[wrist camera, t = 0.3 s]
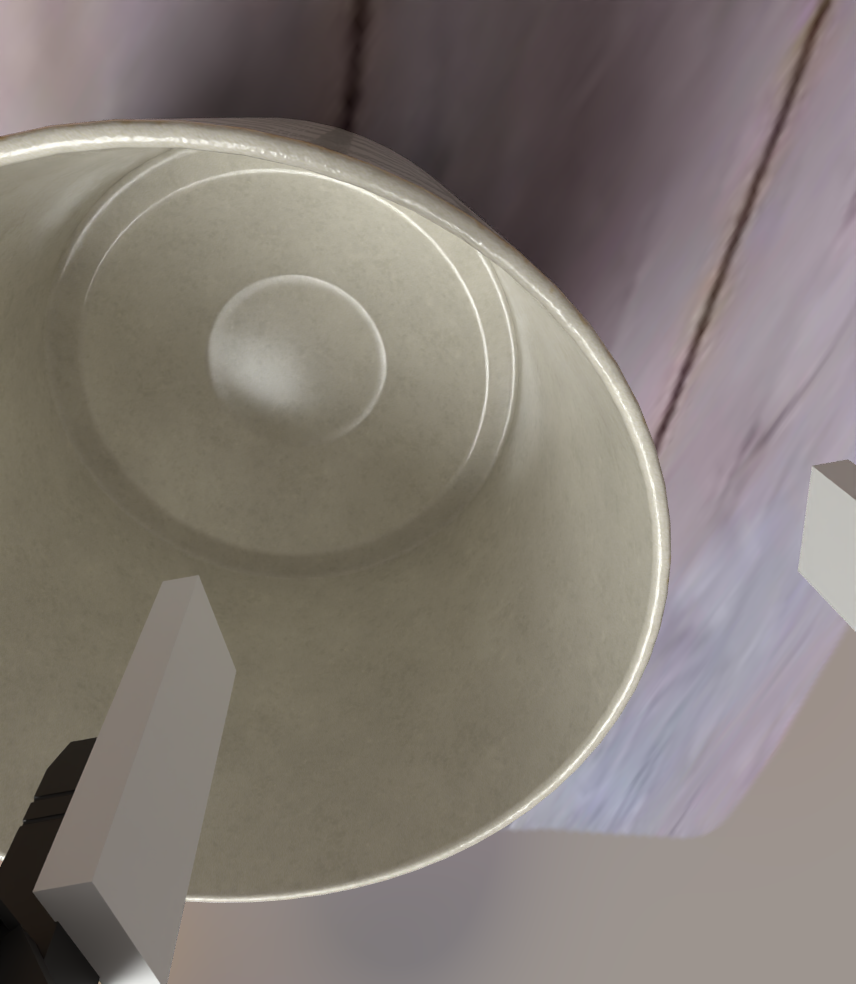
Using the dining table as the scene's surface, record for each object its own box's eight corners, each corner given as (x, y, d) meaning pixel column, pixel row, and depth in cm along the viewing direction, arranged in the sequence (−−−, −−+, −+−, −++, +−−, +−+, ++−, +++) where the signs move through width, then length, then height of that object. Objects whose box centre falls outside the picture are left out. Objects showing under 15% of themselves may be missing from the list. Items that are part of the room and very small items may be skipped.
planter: (597, 285, 39) (864, 477, 18) (378, 598, 49) (391, 964, 28) (172, -1, 31) (-202, -231, 11) (8, 438, 41) (-366, 779, 20)
